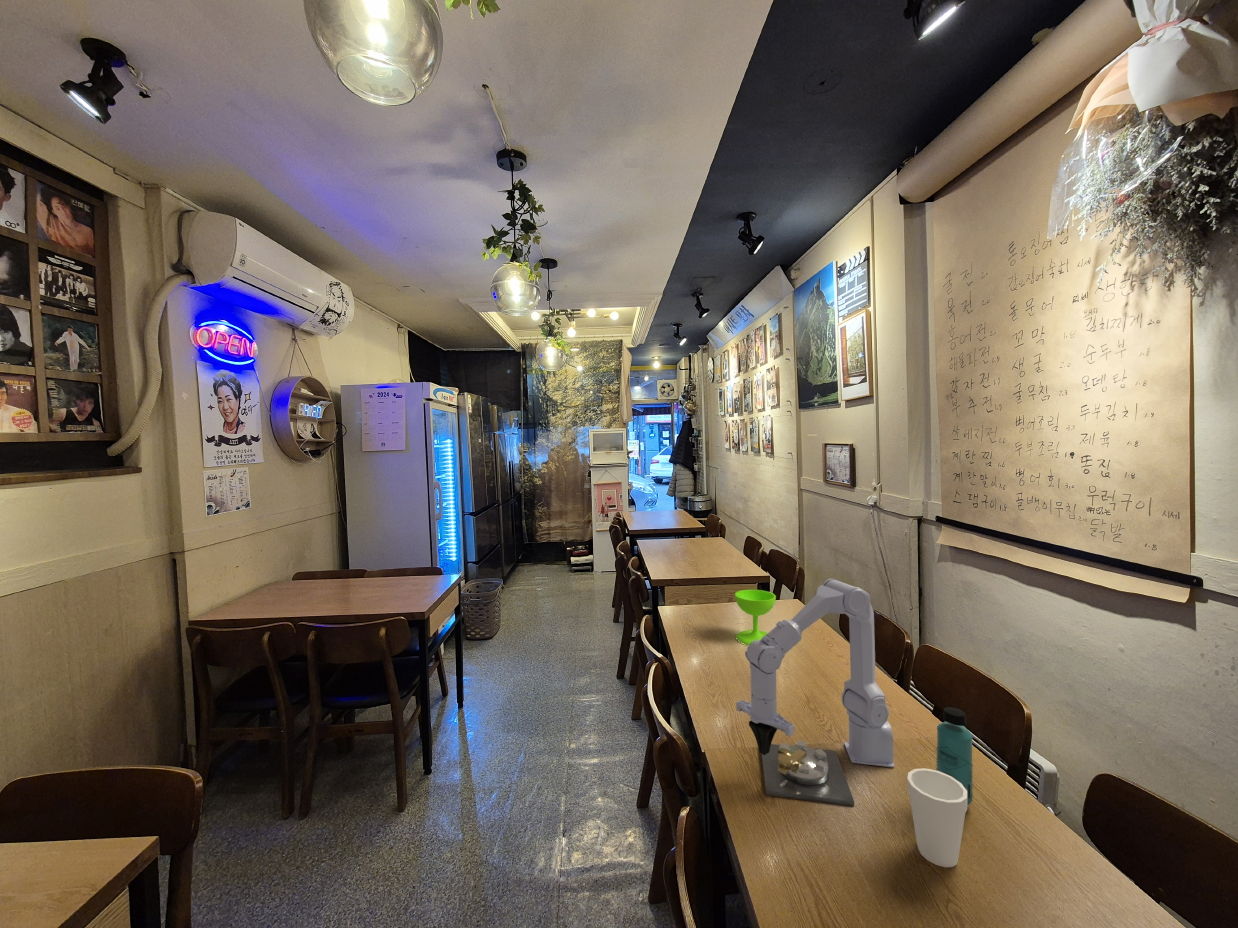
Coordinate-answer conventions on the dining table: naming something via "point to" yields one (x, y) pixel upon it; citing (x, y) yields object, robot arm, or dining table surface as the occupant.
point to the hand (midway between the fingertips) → (764, 752)
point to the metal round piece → (803, 763)
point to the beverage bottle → (955, 749)
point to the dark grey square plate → (826, 792)
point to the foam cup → (937, 814)
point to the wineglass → (754, 611)
